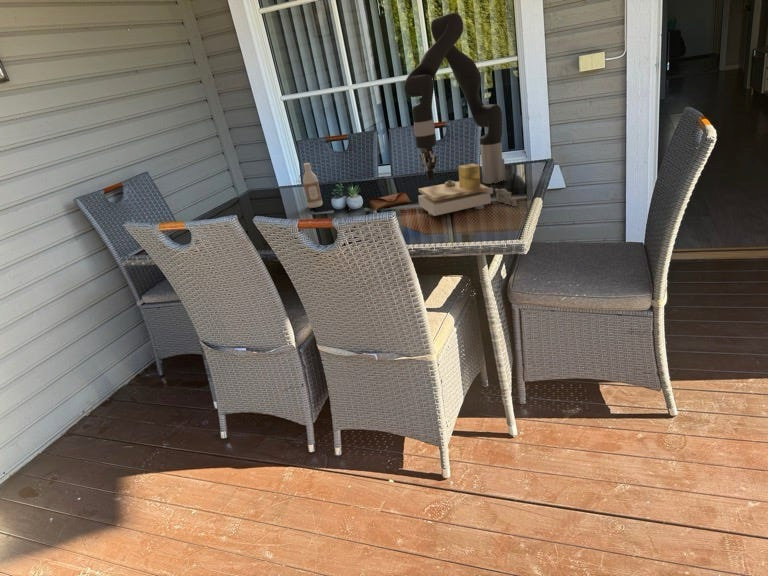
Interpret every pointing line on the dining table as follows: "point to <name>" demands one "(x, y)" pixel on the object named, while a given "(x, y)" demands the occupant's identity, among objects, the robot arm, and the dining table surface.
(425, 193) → the instrument plate
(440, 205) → the base
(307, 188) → the tan bottle
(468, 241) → the dining table surface
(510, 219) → the dining table surface
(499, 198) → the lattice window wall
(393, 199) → the sunglasses case
